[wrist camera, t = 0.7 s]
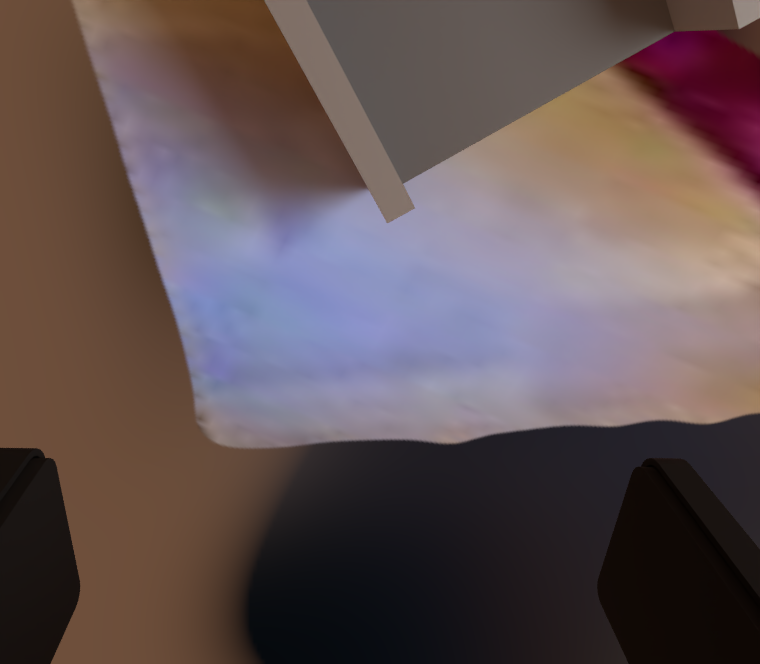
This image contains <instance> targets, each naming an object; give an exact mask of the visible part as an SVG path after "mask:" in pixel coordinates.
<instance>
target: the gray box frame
mask: <svg viewBox="0 0 760 664" xmlns="http://www.w3.org/2000/svg"><path fill="white" fill-rule="evenodd" d="M264 1H265V3H266V5H267V6H268V8H269V10H270V12H271V14H272V16H273V17H274V19H275V21H276V23H277V25H278V26H279V28H280V30H281V32H282V34H283V35H284V37H285V39H286V41H287V43H288V44H289V46H290V48H291V50H292V52H293V54H294V55H295V57H296V59H297V61H298V63H299V64H300V66H301V68H302V70H303V72H304V73H305V75H306V77H307V79H308V81H309V82H310V84H311V86H312V88H313V90H314V92H315V93H316V95H317V97H318V99H319V101H320V102H321V104H322V106H323V108H324V110H325V111H326V113H327V115H328V117H329V119H330V120H331V122H332V124H333V126H334V128H335V129H336V131H337V133H338V135H339V137H340V139H341V140H342V142H343V144H344V146H345V148H346V149H347V151H348V153H349V155H350V157H351V158H352V160H353V162H354V164H355V166H356V167H357V169H358V171H359V173H360V175H361V177H362V178H363V180H364V182H365V184H366V186H367V187H368V189H369V191H370V193H371V195H372V196H373V198H374V200H375V202H376V204H377V205H378V207H379V209H380V211H381V213H382V214H383V216H384V218H385V220H386V222H387V223H389V222H391V221H393V220H394V219H396V218H398V217H400V216H402V215H403V214H405V213H407V212H409V211H411V210H412V209H414V208H415V207H414V205H413V203H412V201H411V199H410V197H409V195H408V193H407V191H406V189H405V187H404V185H403V183H405V182H407V181H408V180H410V179H412V178H414V177H416V176H417V175H419V174H421V173H423V172H425V171H426V170H428V169H430V168H432V167H433V166H435V165H437V164H439V163H441V162H442V161H444V160H446V159H448V158H450V157H451V156H453V155H455V154H457V153H458V152H460V151H462V150H464V149H466V148H467V147H469V146H471V145H473V144H475V143H476V142H478V141H480V140H482V139H483V138H485V137H487V136H489V135H491V134H492V133H494V132H496V131H498V130H499V129H501V128H503V127H505V126H507V125H508V124H510V123H512V122H514V121H516V120H517V119H519V118H521V117H523V116H524V115H526V114H528V113H530V112H532V111H533V110H535V109H537V108H539V107H541V106H542V105H544V104H546V103H548V102H549V101H551V100H553V99H555V98H557V97H558V96H560V95H562V94H564V93H565V92H567V91H569V90H571V89H573V88H574V87H576V86H578V85H580V84H582V83H583V82H585V81H587V80H589V79H590V78H592V77H594V76H596V75H598V74H599V73H601V72H603V71H605V70H607V69H608V68H610V67H612V66H614V65H615V64H617V63H619V62H621V61H623V60H624V59H626V58H628V57H630V56H631V55H633V54H635V53H637V52H639V51H640V50H642V49H644V48H646V47H648V46H649V45H651V44H653V43H655V42H656V41H658V40H660V39H662V38H664V37H665V36H667V35H669V34H671V33H673V32H674V31H699V30H727V29H728V30H729V29H740V28H742V27H744V26H746V25H748V24H749V23H751V22H753V21H755V20H757V19H758V18H760V0H264Z"/></svg>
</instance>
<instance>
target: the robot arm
mask: <svg viewBox="0 0 760 664" xmlns="http://www.w3.org/2000/svg"><path fill="white" fill-rule="evenodd" d="M597 589H598V596H599V600H600V602H601V605H602V607H603V609H604V612H605V614H606V616H607V618H608V620H609V622H610V624H611V626H612V629H613V631H614V633H615V635H616V637H617V639H618V641H619V644H620V646H621V648H622V650H623V652H624V654H625V656H626V658H627V661H628V663H629V664H760V549H759V548H758V547H757V545H756V544H755V543H754V542H753V541H752V539H751V538H750V537H749V536H748V535H747V534H746V532H745V531H744V530H743V528H742V527H741V526H740V525H739V524H738V522H737V521H736V520H735V519H734V518H733V516H732V515H731V514H730V513H729V511H728V510H727V509H726V508H725V507H724V505H723V504H722V503H721V502H720V501H719V499H718V498H717V497H716V496H715V495H714V493H713V492H712V491H711V490H710V488H709V487H708V486H707V485H706V484H705V482H704V481H703V480H702V479H701V477H700V476H699V475H698V474H697V473H696V471H695V470H694V469H693V468H692V467H691V465H690V464H689V463H688V462H687V461H685V460H683V459H672V458H649V459H646V460H645V461H644V462H643V464H642V466H641V467H636V468H635V469H634V470H633V472H632V475H631V478H630V481H629V484H628V487H627V490H626V494H625V497H624V500H623V503H622V506H621V509H620V513H619V516H618V518H617V522H616V525H615V528H614V531H613V534H612V537H611V540H610V544H609V547H608V550H607V553H606V556H605V559H604V562H603V566H602V569H601V572H600V575H599V578H598V584H597ZM79 592H80V580H79V575H78V570H77V565H76V560H75V555H74V550H73V545H72V541H71V535H70V531H69V526H68V521H67V516H66V511H65V506H64V501H63V496H62V492H61V487H60V482H59V477H58V472H57V467H56V464H55V461H54V460H53V459H51V458H45V456H44V453H43V452H42V451H41V450H40V449H36V448H35V449H34V448H0V664H50V663H51V661H52V659H53V657H54V655H55V652H56V650H57V648H58V646H59V643H60V641H61V639H62V637H63V635H64V632H65V630H66V628H67V625H68V623H69V621H70V619H71V617H72V615H73V612H74V610H75V608H76V605H77V602H78V598H79Z"/></svg>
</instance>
